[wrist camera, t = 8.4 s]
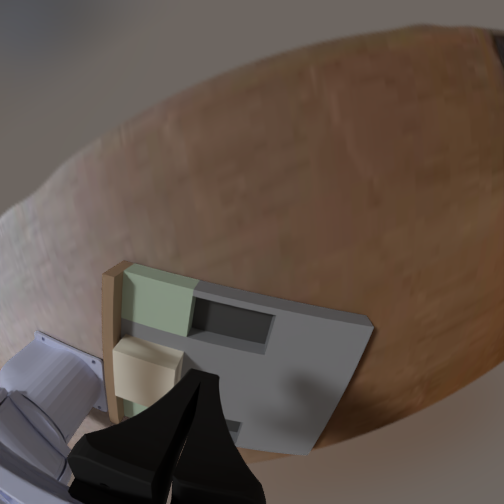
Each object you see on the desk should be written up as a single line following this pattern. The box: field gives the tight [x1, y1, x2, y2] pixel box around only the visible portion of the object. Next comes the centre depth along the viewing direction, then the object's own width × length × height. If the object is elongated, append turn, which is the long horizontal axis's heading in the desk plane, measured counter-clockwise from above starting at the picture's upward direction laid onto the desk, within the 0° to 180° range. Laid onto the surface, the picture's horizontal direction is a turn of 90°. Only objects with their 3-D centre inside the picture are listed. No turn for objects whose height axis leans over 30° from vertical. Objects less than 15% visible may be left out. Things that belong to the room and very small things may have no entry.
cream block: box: [113, 334, 184, 407], centre depth 21 cm, size 5×5×2 cm
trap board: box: [102, 261, 374, 455], centre depth 22 cm, size 20×16×4 cm
